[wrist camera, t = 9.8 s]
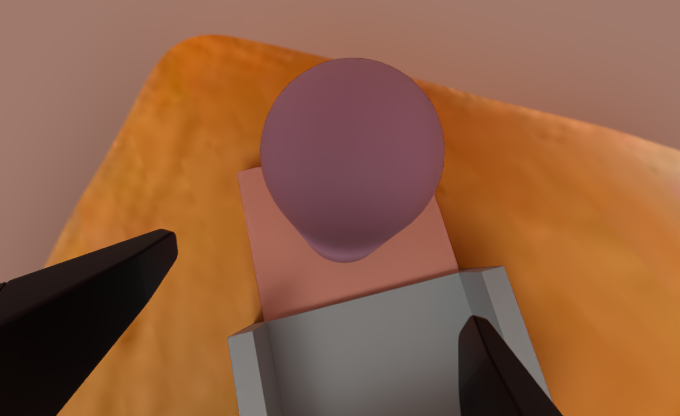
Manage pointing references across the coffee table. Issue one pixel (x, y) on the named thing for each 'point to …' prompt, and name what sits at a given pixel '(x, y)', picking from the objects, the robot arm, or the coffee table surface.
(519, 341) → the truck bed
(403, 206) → the yam
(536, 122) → the coffee table surface
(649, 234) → the coffee table surface
